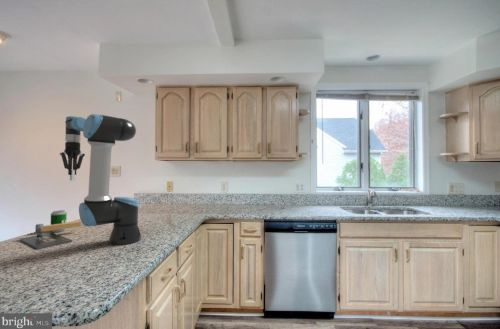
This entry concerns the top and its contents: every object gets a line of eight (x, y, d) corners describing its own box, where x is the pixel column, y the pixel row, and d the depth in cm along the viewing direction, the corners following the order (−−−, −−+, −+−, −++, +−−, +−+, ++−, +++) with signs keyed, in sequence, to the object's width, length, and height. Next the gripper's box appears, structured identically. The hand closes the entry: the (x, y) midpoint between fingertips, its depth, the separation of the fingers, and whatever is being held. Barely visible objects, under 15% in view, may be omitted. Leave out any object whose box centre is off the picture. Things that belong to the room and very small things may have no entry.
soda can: (57, 233, 142) (57, 212, 142) (47, 232, 144) (47, 212, 144) (69, 230, 150) (69, 210, 150) (59, 229, 151) (59, 209, 151)
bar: (79, 225, 146) (79, 219, 146) (80, 226, 144) (80, 220, 144) (35, 231, 132) (35, 224, 132) (35, 233, 130) (35, 225, 130)
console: (71, 241, 127) (72, 235, 127) (37, 249, 115) (38, 242, 115) (52, 234, 139) (52, 229, 139) (20, 240, 127) (20, 234, 127)
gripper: (81, 143, 157) (80, 179, 156) (57, 141, 146) (56, 180, 145) (87, 142, 153) (86, 180, 153) (63, 140, 142) (62, 180, 141)
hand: (72, 180), depth 149 cm, fingers closed
